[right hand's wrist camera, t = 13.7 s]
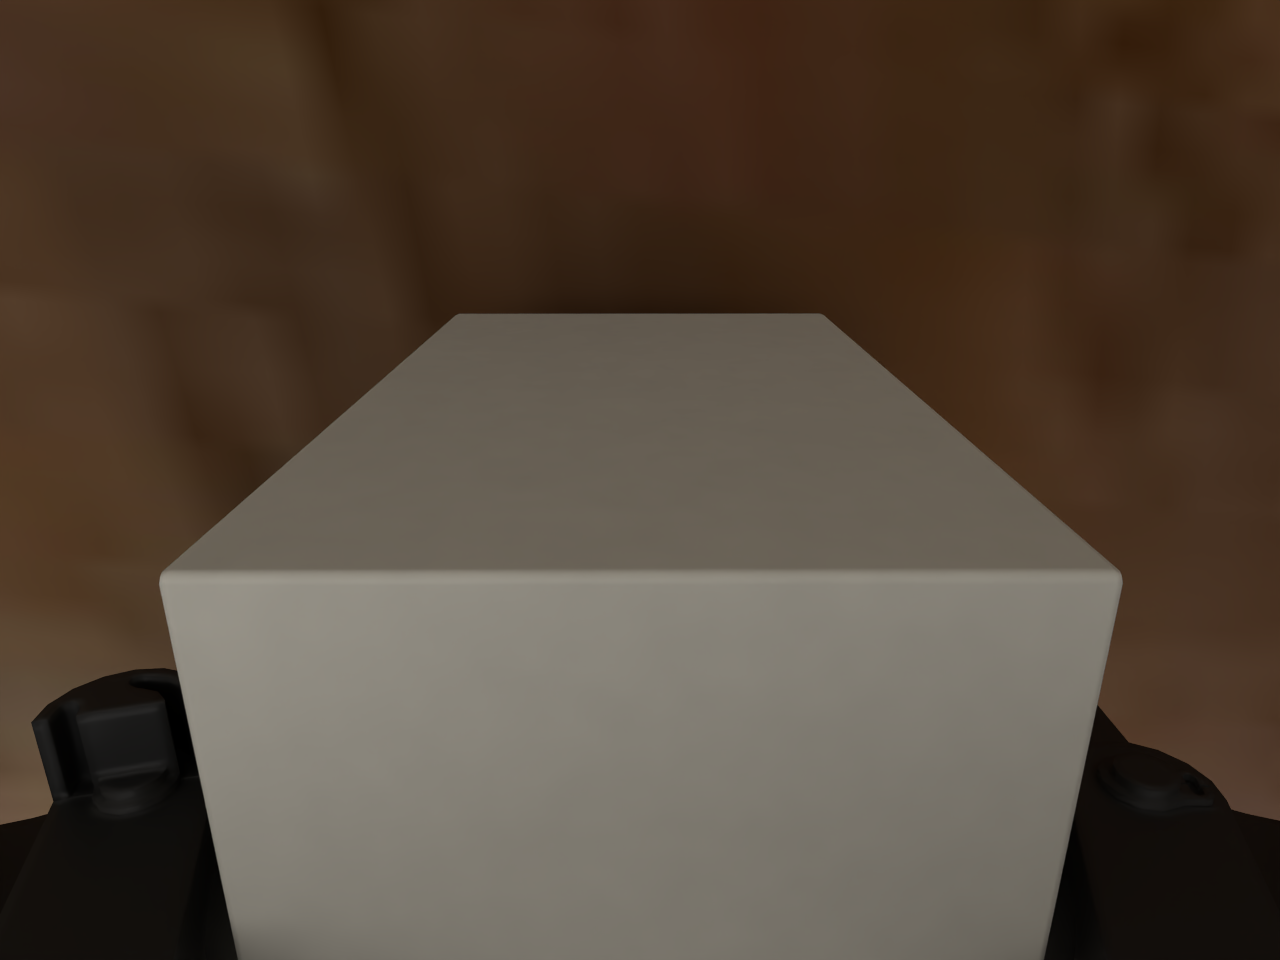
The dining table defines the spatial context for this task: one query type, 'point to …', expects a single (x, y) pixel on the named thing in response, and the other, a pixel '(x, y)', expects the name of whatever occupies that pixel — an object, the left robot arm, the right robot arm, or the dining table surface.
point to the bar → (640, 661)
